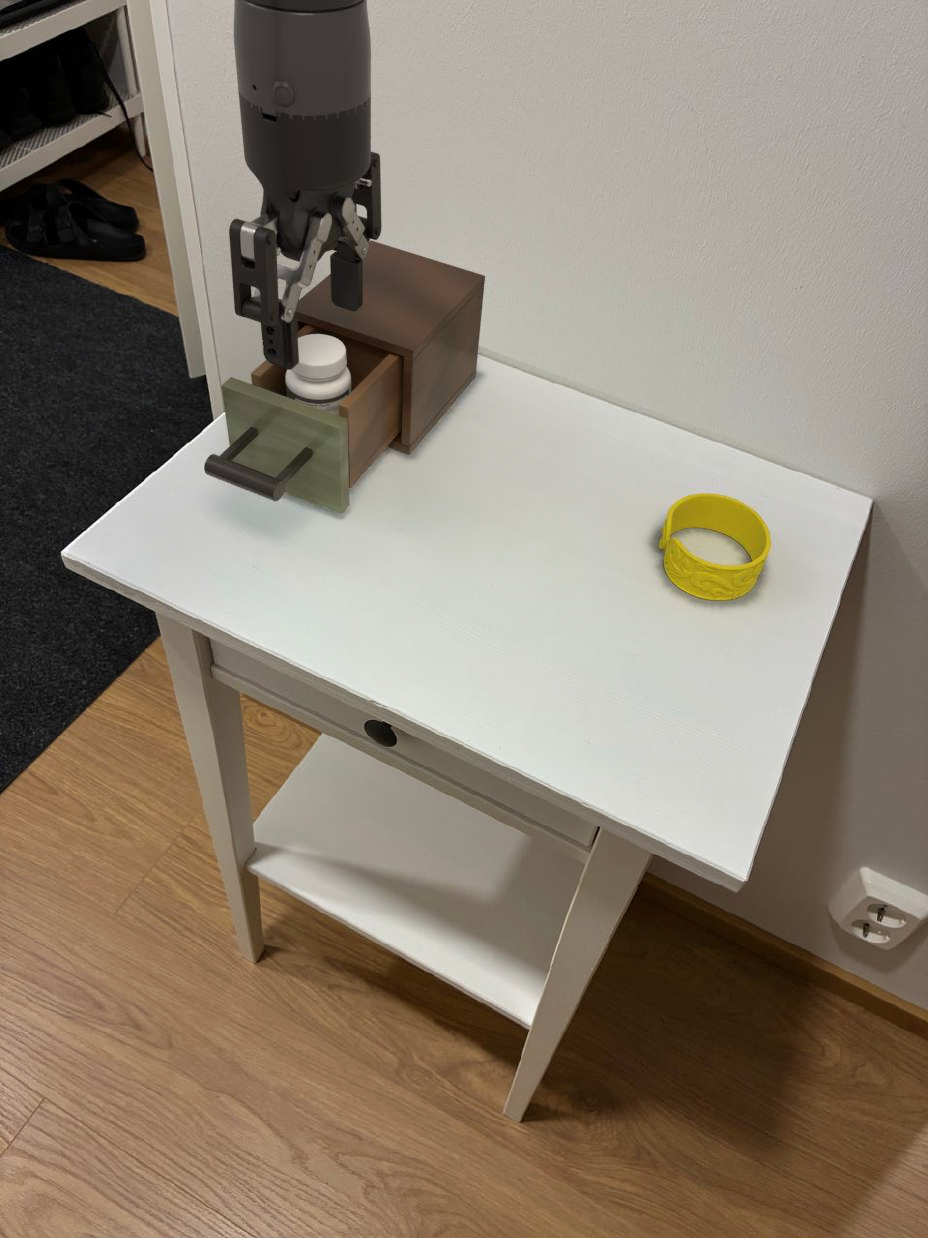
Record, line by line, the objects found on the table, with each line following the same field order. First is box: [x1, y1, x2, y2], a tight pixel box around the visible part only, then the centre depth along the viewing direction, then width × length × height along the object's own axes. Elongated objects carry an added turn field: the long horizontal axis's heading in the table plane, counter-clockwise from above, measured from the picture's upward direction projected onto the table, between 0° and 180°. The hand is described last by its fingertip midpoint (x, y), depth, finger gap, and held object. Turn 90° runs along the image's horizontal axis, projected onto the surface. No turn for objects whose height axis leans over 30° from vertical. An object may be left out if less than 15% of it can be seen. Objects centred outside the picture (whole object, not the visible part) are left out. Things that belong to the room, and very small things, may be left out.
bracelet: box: [658, 492, 772, 601], centre depth 70 cm, size 7×8×3 cm
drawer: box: [203, 324, 404, 515], centre depth 71 cm, size 17×9×8 cm, turn 154°
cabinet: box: [294, 239, 486, 455], centre depth 79 cm, size 13×11×10 cm
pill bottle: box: [285, 334, 351, 416], centre depth 71 cm, size 5×5×8 cm
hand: (315, 334), depth 67 cm, fingers open, 8 cm apart
